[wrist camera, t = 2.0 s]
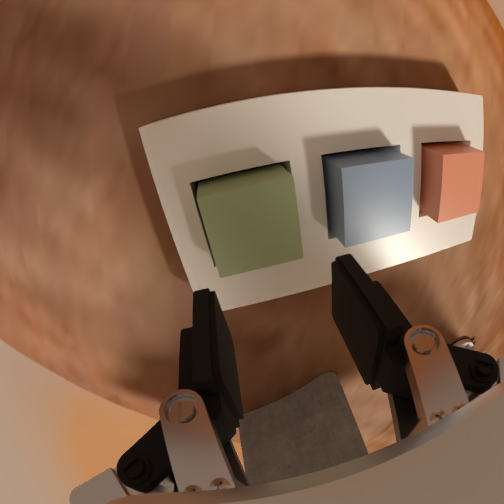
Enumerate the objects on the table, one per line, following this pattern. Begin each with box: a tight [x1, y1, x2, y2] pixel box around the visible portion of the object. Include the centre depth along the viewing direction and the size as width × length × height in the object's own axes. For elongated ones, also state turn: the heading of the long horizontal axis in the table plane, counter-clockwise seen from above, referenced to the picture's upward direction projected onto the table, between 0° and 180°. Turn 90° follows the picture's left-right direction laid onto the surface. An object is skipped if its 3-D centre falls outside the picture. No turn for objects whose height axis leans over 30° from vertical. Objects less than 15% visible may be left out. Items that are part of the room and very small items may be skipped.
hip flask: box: [239, 372, 368, 485], centre depth 27 cm, size 16×4×20 cm, turn 127°
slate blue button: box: [321, 147, 413, 248], centre depth 18 cm, size 5×5×3 cm
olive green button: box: [197, 164, 303, 278], centre depth 17 cm, size 5×5×3 cm
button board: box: [139, 87, 483, 311], centre depth 19 cm, size 26×14×3 cm, turn 101°
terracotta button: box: [419, 142, 485, 223], centre depth 18 cm, size 5×5×3 cm
